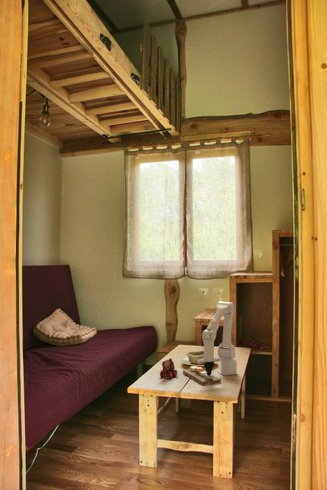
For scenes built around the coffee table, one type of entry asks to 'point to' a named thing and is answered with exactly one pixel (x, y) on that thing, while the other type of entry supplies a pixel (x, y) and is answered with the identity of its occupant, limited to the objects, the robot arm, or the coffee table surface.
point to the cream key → (192, 368)
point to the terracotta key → (198, 369)
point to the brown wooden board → (201, 378)
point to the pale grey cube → (208, 377)
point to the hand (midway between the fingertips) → (208, 375)
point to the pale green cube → (202, 373)
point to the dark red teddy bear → (168, 369)
